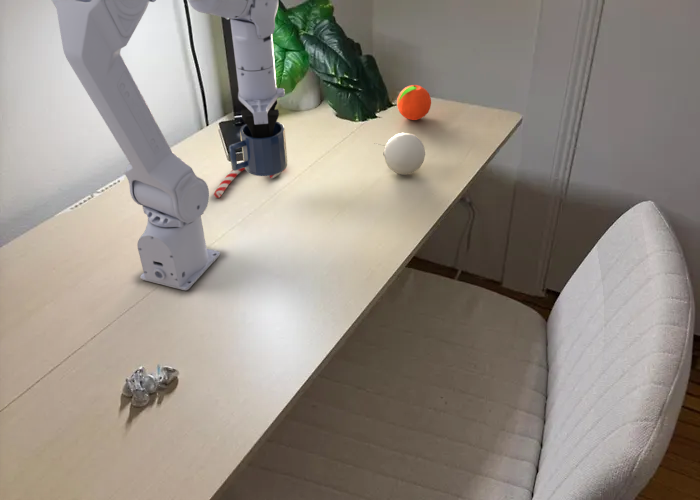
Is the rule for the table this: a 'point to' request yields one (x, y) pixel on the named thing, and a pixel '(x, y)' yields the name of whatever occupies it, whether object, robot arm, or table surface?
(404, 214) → the table surface
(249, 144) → the mug
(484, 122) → the table surface
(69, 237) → the table surface
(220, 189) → the candy cane
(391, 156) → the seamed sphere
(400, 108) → the clementine
